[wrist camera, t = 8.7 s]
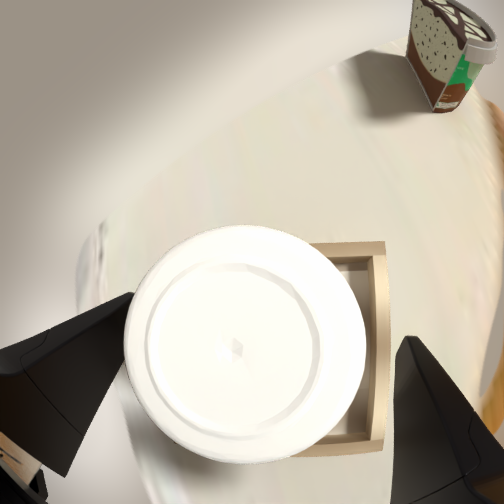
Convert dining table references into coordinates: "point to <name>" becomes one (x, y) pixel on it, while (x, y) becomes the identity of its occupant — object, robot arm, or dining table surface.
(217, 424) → the sprinkles bottle
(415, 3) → the food container
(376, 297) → the box
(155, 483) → the dining table surface
